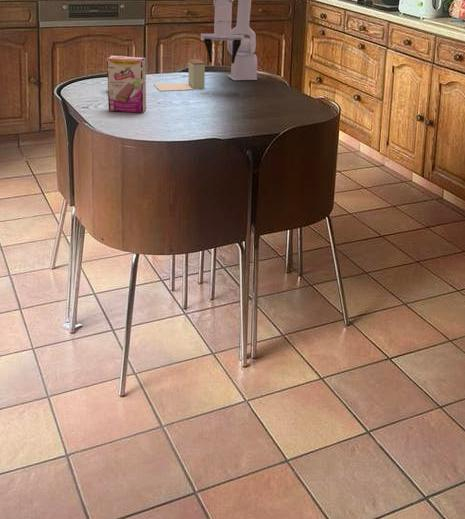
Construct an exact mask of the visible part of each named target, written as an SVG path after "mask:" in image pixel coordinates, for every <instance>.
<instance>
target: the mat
mask: <svg viewBox="0 0 465 519" xmlns="http://www.w3.org/2000/svg"><path fill="white" fill-rule="evenodd" d="M153 86H154V87H155V88H156V90H158V91H159V92H175V91H176V92H178V91H194V89H193V88H192V87H191V86H189V83H187V82H176V83H175V82H172V83H171V82H170V83H153Z"/></svg>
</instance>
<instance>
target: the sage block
mask: <svg viewBox="0 0 465 519" xmlns="http://www.w3.org/2000/svg"><path fill="white" fill-rule="evenodd" d="M205 66H206V64H205V62H204V61H203V60H201V59H200V58H193V59H192V58H191V59H188V85H189V86H190V87H191V88H193V90H204V89H205V81H206V80H205V78H206V77H205V74H206V69H205V68H206V67H205Z"/></svg>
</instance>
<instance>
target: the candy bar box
mask: <svg viewBox="0 0 465 519" xmlns="http://www.w3.org/2000/svg"><path fill="white" fill-rule="evenodd" d="M106 67H107V68H106V69H107V71H106V72H107V73H106V74H107V99H108V106H107V107H108V112H120V113H137V114H143V113H144V112H145V111H146V110H147V81H146V80H147V78H146V73H147V71H146V69H147V68H146V67H147V66H146V58H145V57H137V56H127V57H125V56H110V55H109V57H107V58H106Z"/></svg>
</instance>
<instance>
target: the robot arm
mask: <svg viewBox="0 0 465 519" xmlns="http://www.w3.org/2000/svg"><path fill="white" fill-rule="evenodd" d="M234 1H235V0H213V6H214V22H213V24H214V27H213V28H214V30H213V32H214V33H200V40H201V41H203V42H204V45H205V48H206V52H207V56H208V62H209V63H213V62H212V60H213V54H212V48H213V43H212V42H213V41H223V42H224V41H226V42H227V43H226V46H227V51H228V52H229V53H230V55H231V65H230V66H231V68H230V74H227V77H228V78H229V79H231V80H232V81H257V80H258V78H257V77H258V57H257V55H256V54H255V53H256V48H257V35H256V32H255V31H254V30H253V29H252V28H251V27H250V20H251V9H252V0H237V13H236V25H235V27H233V28H232V21H233V19H232V18H233V2H234Z"/></svg>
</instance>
